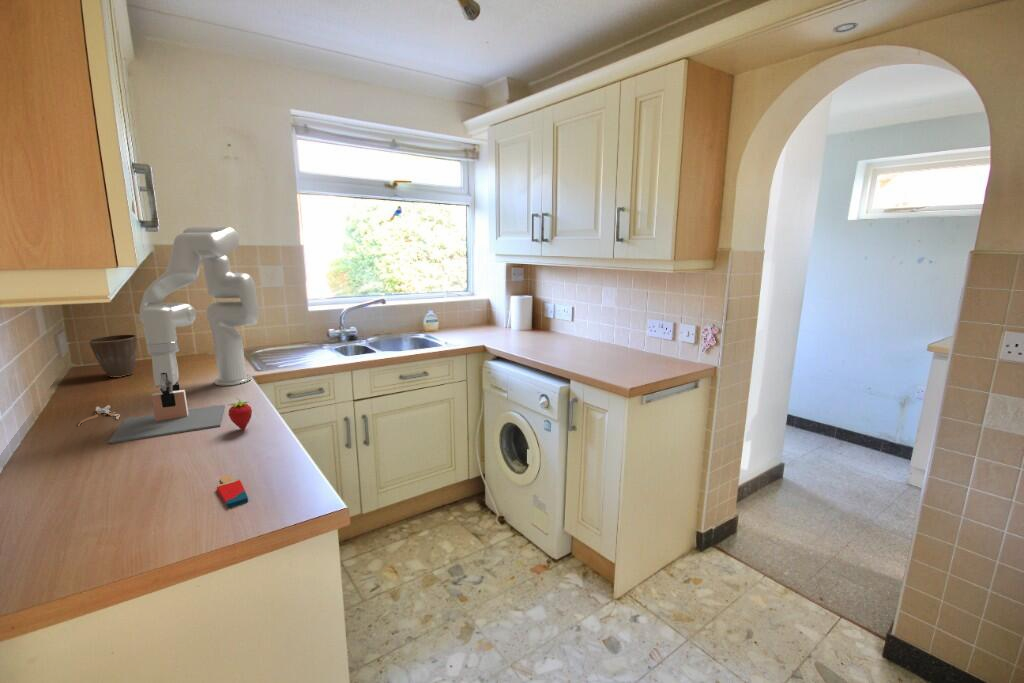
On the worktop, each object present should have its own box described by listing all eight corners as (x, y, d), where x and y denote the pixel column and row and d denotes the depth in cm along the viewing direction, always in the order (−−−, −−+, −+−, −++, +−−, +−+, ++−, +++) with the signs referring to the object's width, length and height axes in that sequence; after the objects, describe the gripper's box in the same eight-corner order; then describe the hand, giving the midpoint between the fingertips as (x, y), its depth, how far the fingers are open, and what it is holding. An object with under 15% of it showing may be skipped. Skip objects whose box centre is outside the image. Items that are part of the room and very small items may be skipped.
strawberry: (231, 436, 130) (226, 402, 128) (230, 427, 137) (226, 395, 135) (254, 431, 133) (250, 399, 131) (253, 423, 140) (249, 391, 138)
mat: (126, 419, 143) (126, 418, 143) (224, 406, 155) (224, 404, 155) (108, 444, 126) (107, 442, 126) (220, 426, 138) (219, 424, 137)
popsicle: (235, 471, 108) (250, 496, 97) (236, 476, 109) (250, 503, 98) (212, 477, 105) (225, 504, 94) (213, 483, 106) (225, 511, 95)
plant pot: (95, 383, 181) (87, 343, 178) (97, 375, 193) (89, 337, 189) (143, 376, 191) (136, 338, 187) (142, 369, 202) (136, 333, 199)
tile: (157, 418, 143) (153, 393, 141) (188, 413, 146) (184, 389, 145) (155, 420, 141) (151, 395, 139) (187, 416, 144) (183, 391, 143)
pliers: (75, 422, 138) (83, 408, 149) (76, 427, 138) (83, 413, 150) (118, 415, 143) (122, 402, 155) (119, 420, 144) (123, 407, 156)
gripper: (153, 343, 145) (162, 395, 148) (141, 355, 130) (151, 412, 134) (182, 341, 148) (190, 392, 152) (173, 352, 133) (182, 408, 137)
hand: (172, 401), depth 143 cm, fingers open, 9 cm apart
